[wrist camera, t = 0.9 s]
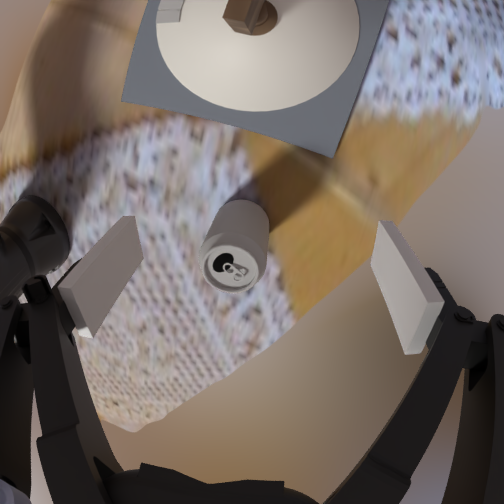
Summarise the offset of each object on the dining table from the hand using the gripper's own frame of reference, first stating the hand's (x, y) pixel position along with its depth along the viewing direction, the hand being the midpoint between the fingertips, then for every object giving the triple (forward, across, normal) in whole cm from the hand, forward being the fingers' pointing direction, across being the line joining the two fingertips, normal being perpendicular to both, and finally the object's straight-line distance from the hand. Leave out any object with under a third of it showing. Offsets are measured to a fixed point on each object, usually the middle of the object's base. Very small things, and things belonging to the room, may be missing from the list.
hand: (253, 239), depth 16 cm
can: (+24, -4, -10) cm, 27 cm away
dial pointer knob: (+22, 0, +21) cm, 31 cm away
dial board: (+24, -1, +17) cm, 29 cm away
